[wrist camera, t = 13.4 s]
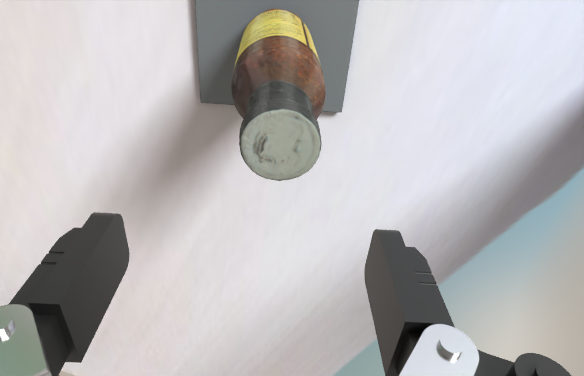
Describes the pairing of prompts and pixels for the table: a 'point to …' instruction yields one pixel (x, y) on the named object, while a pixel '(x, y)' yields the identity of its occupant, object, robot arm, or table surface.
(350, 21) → the placemat
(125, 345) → the table surface
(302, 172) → the sauce bottle
